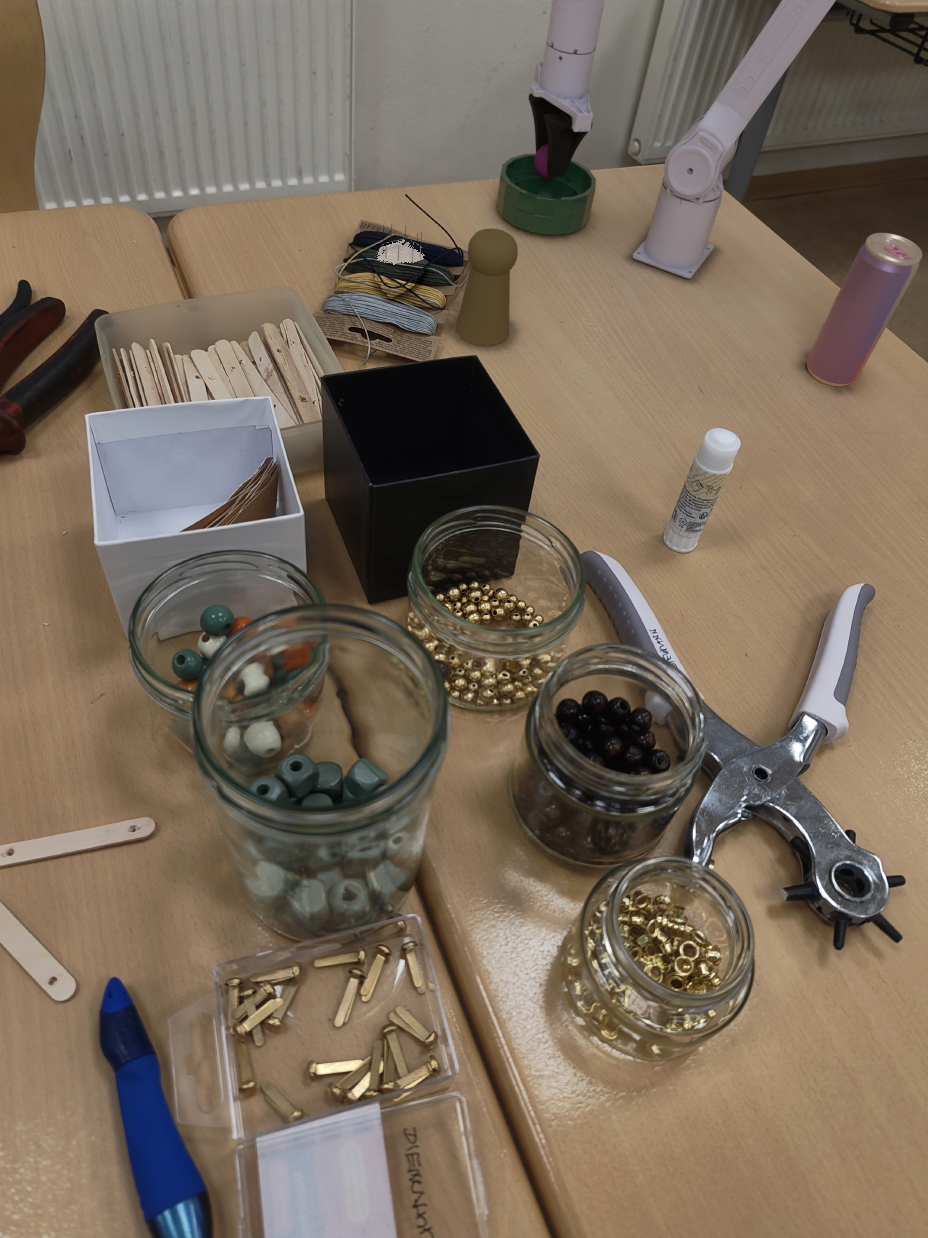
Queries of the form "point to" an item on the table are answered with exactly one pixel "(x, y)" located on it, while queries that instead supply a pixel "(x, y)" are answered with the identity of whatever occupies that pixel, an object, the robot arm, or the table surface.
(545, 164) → the ball
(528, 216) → the bowl
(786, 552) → the table surface
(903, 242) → the beverage can
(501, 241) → the olive brown pawn
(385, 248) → the pincushion
